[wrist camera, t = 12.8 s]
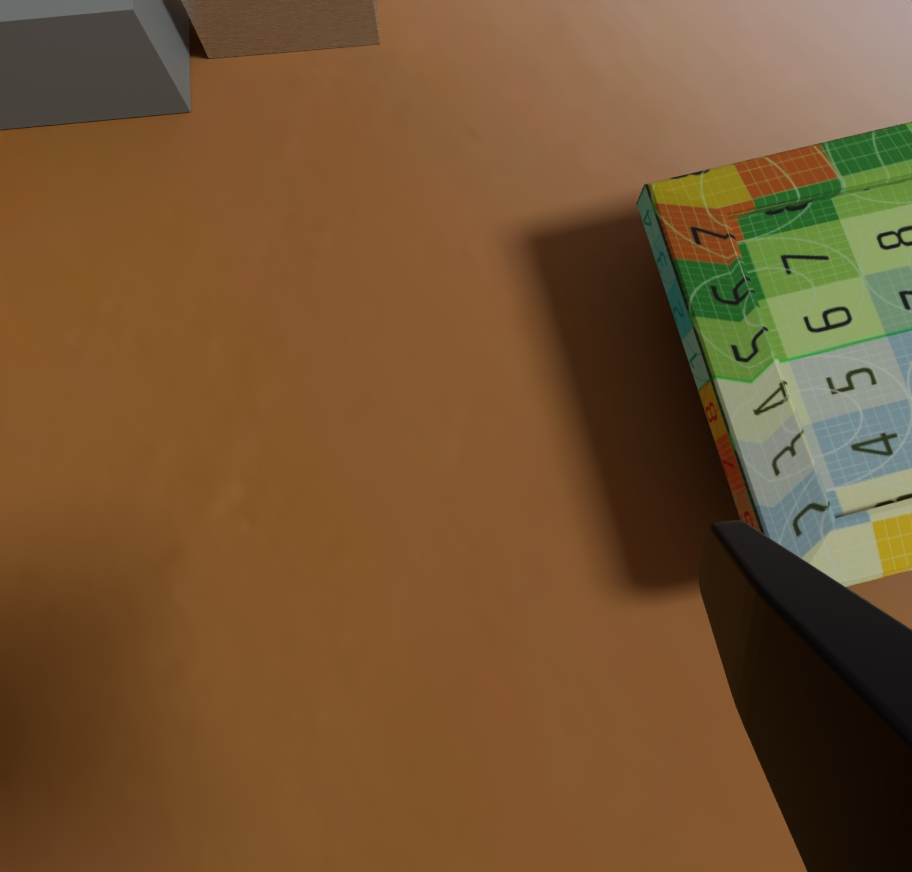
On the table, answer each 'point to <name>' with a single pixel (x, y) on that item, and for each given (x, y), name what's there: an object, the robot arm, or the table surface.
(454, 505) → the table surface
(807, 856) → the robot arm
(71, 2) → the slot box
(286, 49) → the cover plate
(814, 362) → the puzzle game
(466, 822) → the table surface
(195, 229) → the table surface
